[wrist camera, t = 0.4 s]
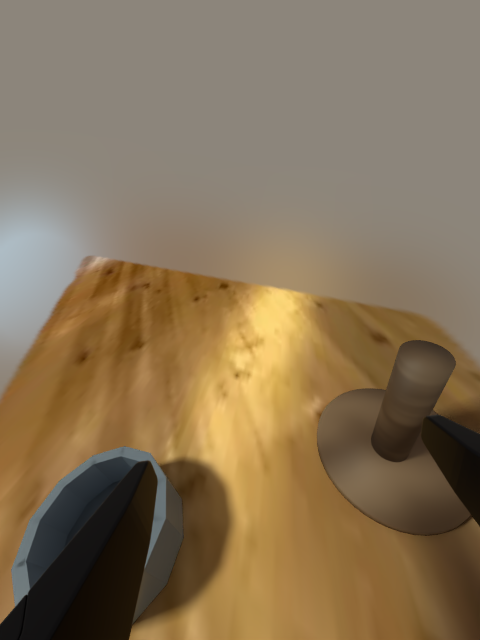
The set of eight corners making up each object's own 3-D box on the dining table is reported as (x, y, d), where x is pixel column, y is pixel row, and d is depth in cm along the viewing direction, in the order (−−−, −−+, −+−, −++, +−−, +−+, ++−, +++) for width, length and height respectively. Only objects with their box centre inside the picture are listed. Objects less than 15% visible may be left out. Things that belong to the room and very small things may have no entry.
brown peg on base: (520, 503, 19) (652, 409, 12) (369, 562, 18) (416, 494, 10) (398, 380, 29) (430, 289, 22) (296, 411, 27) (295, 325, 20)
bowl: (186, 604, 17) (165, 594, 14) (30, 663, 16) (-24, 663, 13) (180, 457, 25) (166, 433, 22) (76, 490, 24) (48, 468, 21)
